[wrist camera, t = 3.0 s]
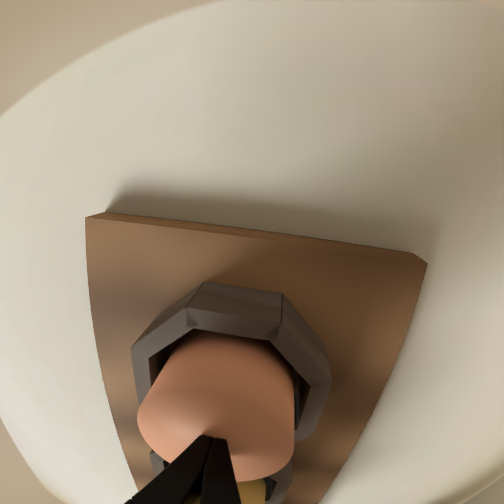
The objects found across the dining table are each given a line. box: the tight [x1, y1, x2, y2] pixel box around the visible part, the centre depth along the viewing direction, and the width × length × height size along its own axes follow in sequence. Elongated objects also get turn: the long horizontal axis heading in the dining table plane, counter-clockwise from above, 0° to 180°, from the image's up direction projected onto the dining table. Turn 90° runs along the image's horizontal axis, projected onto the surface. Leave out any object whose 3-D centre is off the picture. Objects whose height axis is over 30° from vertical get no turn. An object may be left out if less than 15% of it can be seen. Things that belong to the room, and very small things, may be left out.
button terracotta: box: [137, 328, 294, 482], centre depth 10 cm, size 5×5×4 cm
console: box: [85, 212, 428, 504], centre depth 13 cm, size 25×14×4 cm, turn 174°
